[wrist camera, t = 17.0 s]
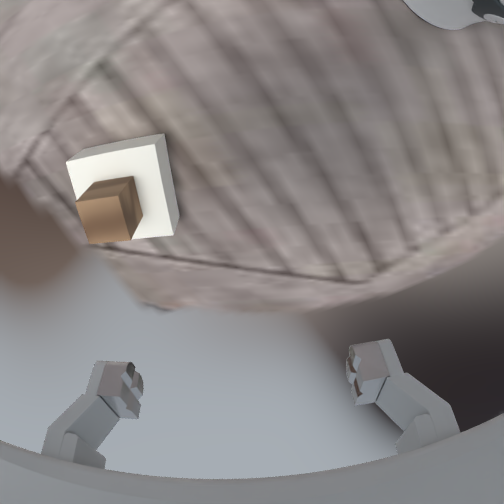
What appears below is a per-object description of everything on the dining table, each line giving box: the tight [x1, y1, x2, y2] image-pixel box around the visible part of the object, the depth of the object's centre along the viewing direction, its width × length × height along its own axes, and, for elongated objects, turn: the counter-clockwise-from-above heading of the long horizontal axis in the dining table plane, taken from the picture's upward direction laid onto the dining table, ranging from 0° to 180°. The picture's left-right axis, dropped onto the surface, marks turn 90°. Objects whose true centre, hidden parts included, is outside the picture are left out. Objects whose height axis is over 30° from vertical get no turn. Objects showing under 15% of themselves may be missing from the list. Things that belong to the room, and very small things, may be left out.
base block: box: [66, 133, 180, 239], centre depth 35 cm, size 11×11×5 cm
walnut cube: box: [75, 176, 143, 244], centre depth 31 cm, size 5×5×5 cm
